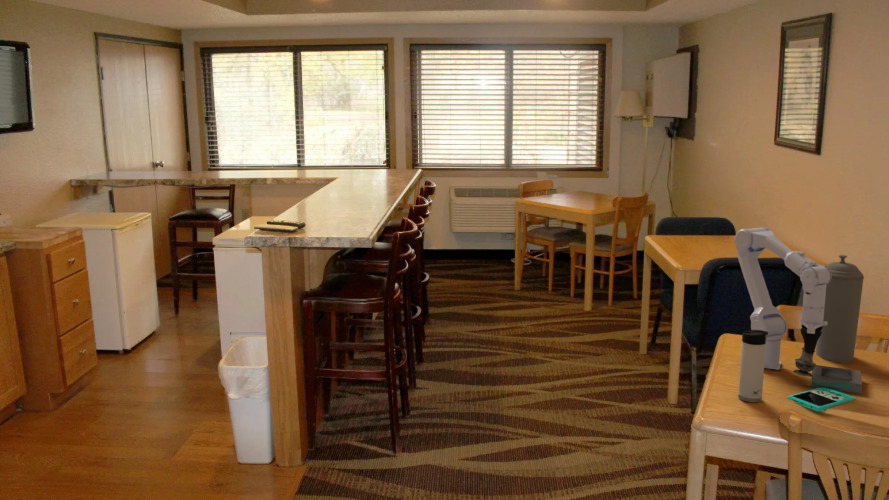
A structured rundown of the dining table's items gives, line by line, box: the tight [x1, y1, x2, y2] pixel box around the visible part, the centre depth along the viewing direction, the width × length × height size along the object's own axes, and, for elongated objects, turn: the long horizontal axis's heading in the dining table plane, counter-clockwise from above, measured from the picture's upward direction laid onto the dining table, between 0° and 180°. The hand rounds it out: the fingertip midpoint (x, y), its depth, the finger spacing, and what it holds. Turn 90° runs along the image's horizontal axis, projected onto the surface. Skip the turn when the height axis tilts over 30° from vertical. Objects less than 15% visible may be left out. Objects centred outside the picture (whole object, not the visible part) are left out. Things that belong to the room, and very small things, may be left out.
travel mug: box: [737, 329, 768, 403], centre depth 204 cm, size 6×7×20 cm
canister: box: [815, 254, 865, 364], centre depth 235 cm, size 13×13×35 cm
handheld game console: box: [787, 388, 856, 412], centre depth 205 cm, size 10×16×1 cm, turn 117°
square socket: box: [810, 364, 863, 395], centre depth 216 cm, size 13×13×3 cm
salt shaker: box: [793, 345, 817, 378], centre depth 214 cm, size 6×6×12 cm
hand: (809, 351), depth 214 cm, fingers closed on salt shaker, 4 cm apart
